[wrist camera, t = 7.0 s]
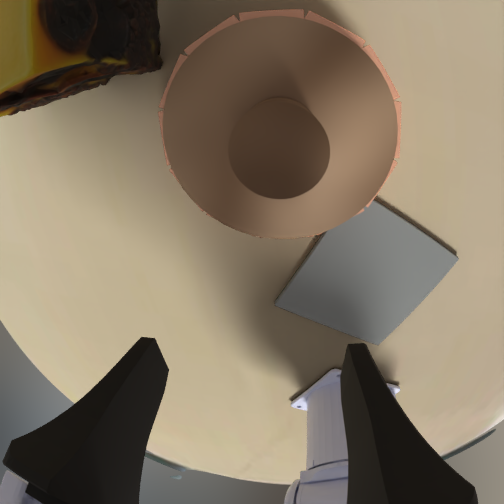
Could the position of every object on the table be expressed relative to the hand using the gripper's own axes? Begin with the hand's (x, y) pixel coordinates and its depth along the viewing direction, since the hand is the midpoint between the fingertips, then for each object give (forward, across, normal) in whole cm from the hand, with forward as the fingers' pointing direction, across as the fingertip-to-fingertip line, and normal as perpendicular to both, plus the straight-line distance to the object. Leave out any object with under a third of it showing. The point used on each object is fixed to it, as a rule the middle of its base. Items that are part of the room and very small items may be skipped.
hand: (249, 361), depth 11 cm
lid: (+6, -1, -7) cm, 10 cm away
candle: (+10, +10, -16) cm, 21 cm away
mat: (+10, -7, +4) cm, 13 cm away
